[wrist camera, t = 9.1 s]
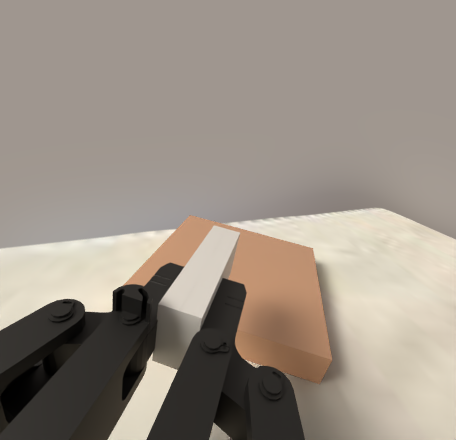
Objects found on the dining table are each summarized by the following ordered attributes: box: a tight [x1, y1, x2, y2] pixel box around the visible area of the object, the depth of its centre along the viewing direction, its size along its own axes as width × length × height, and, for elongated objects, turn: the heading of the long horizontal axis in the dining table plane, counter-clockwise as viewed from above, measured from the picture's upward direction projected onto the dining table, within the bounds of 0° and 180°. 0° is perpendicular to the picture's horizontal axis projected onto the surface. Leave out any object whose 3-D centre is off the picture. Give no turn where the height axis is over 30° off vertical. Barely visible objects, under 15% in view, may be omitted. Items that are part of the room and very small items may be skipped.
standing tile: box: [123, 215, 332, 384], centre depth 23 cm, size 14×3×14 cm
